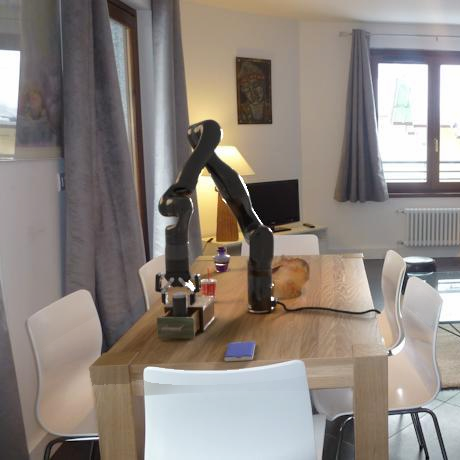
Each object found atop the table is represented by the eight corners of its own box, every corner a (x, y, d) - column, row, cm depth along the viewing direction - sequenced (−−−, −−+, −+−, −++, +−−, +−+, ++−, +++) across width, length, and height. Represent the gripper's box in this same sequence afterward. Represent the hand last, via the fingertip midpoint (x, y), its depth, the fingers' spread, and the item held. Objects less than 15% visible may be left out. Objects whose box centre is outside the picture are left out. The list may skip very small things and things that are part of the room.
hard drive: (228, 342, 200) (224, 356, 188) (255, 341, 202) (252, 355, 190) (228, 347, 200) (224, 361, 188) (255, 345, 202) (252, 360, 190)
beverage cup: (219, 300, 252) (218, 266, 250) (213, 304, 246) (212, 270, 244) (205, 299, 253) (204, 265, 250) (198, 304, 247) (197, 269, 244)
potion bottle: (234, 268, 307) (233, 244, 305) (227, 272, 298) (226, 248, 296) (217, 268, 308) (216, 244, 306) (209, 272, 299) (208, 247, 297)
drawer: (190, 343, 200) (189, 322, 199) (152, 343, 199) (151, 322, 198) (205, 325, 218) (204, 306, 217) (171, 325, 217) (170, 306, 216)
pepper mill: (189, 327, 212) (188, 291, 210) (185, 331, 208) (184, 295, 205) (176, 327, 212) (174, 291, 209) (171, 331, 207) (170, 295, 205)
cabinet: (203, 332, 214) (202, 307, 213) (165, 332, 213) (164, 307, 212) (214, 318, 229) (213, 295, 227) (178, 318, 228) (177, 295, 226)
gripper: (151, 258, 201) (153, 307, 204) (196, 259, 202) (197, 307, 205) (159, 253, 209) (160, 301, 211) (202, 254, 210) (204, 301, 212)
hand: (179, 304), depth 208 cm, fingers open, 8 cm apart
